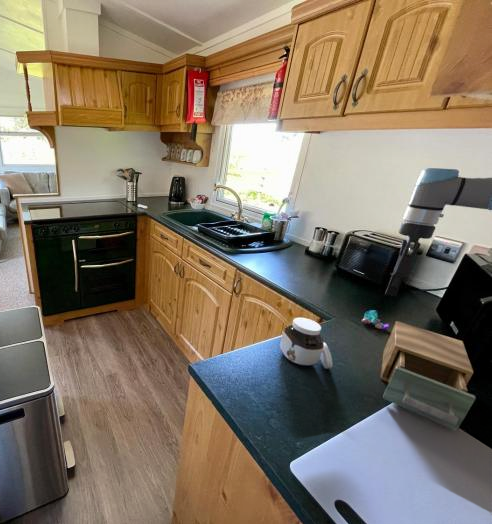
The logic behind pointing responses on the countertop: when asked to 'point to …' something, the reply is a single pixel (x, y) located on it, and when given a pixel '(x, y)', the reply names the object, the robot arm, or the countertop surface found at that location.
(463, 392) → the drawer
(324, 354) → the spread jar
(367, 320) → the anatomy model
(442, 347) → the cabinet
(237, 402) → the countertop surface
